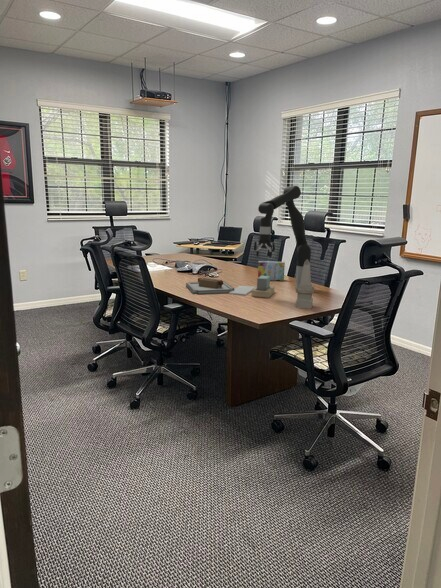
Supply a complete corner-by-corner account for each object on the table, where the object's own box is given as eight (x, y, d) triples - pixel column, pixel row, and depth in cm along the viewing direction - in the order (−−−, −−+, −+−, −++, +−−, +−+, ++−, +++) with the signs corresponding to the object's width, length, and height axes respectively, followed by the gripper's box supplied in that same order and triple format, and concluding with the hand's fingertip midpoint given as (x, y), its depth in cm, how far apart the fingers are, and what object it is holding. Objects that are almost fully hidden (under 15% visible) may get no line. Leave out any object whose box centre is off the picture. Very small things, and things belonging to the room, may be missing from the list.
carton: (274, 292, 312) (275, 285, 311) (268, 298, 293) (268, 291, 292) (258, 290, 316) (258, 284, 315) (250, 296, 297) (250, 290, 296)
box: (269, 292, 309) (270, 276, 306) (265, 296, 298) (265, 279, 295) (260, 292, 311) (261, 275, 308) (256, 295, 300) (257, 278, 297)
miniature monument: (312, 308, 268) (315, 260, 261) (294, 307, 270) (297, 259, 263) (313, 304, 277) (316, 258, 271) (296, 303, 280) (299, 257, 273)
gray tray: (193, 295, 299) (193, 284, 297) (185, 286, 327) (185, 276, 326) (235, 293, 307) (235, 283, 305) (223, 285, 335) (223, 275, 333)
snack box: (283, 279, 358) (284, 261, 355) (283, 281, 352) (284, 262, 349) (257, 278, 360) (258, 260, 357) (257, 280, 354) (258, 261, 351)
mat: (255, 288, 323) (255, 286, 323) (245, 295, 299) (245, 294, 299) (239, 286, 327) (240, 285, 327) (229, 293, 303) (229, 292, 303)
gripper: (276, 233, 296) (275, 257, 300) (256, 232, 301) (255, 255, 305) (274, 234, 289) (272, 258, 293) (253, 233, 294) (252, 257, 298)
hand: (264, 257), depth 299 cm, fingers open, 8 cm apart
